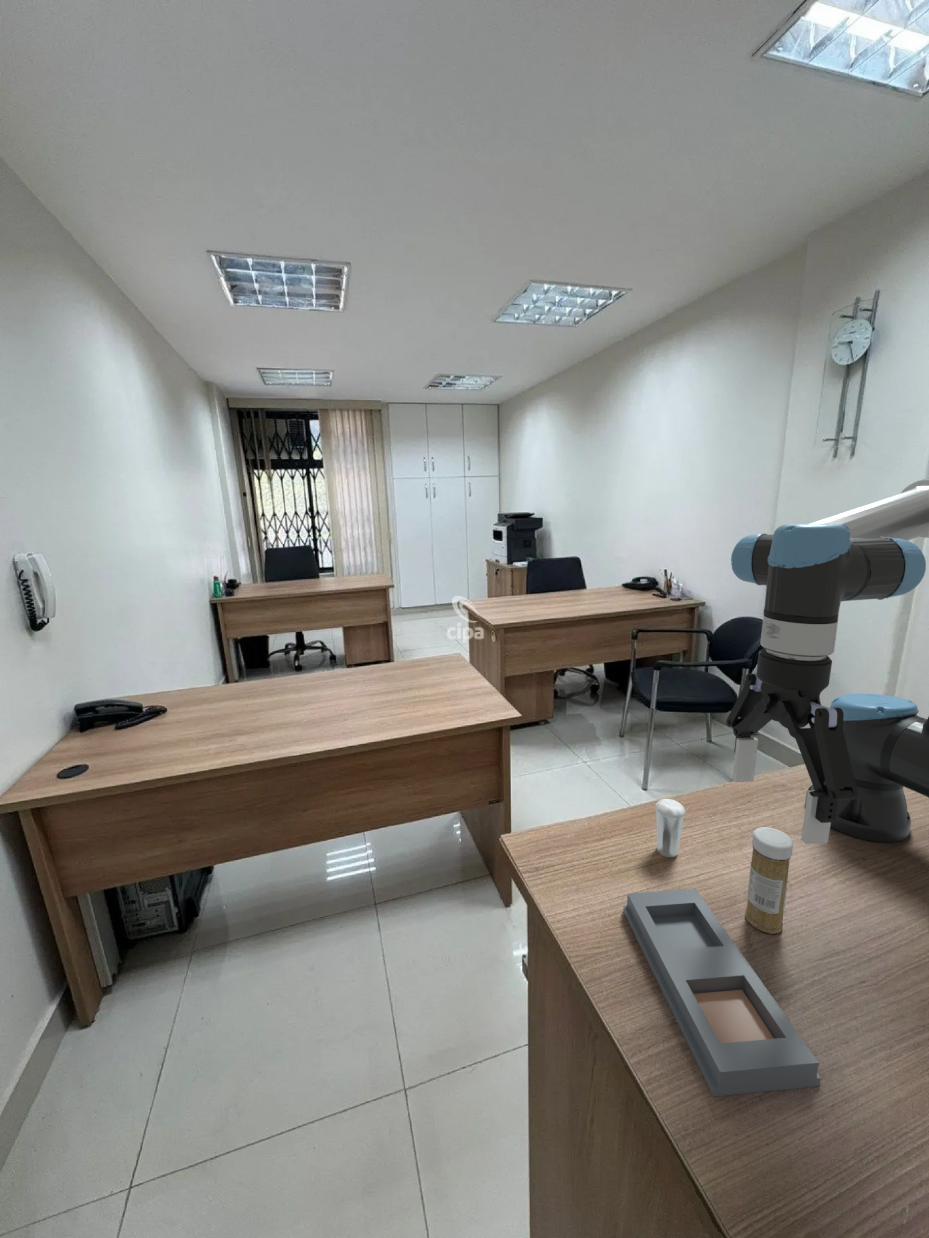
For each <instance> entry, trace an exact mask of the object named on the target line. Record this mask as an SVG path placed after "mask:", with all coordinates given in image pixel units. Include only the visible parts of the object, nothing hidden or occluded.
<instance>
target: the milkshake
mask: <svg viewBox="0 0 929 1238" xmlns="http://www.w3.org/2000/svg"><path fill="white" fill-rule="evenodd" d="M691 805H692V803H689V805H688V807H687V808H686V809H685V807H684V805H682V804H681V803H680V802H678V801H676V800H675V799H670V798H662V799H659V800H658V801H657V802H656V803H655V808H654V809H655V821H656V822H655V824H656V849H657V853H658V854H660V855H661V856H663V857H666V858H668V859H669V858H675V857H677V856H678V855H679V850H680V842H681V837H682V831H683V825H684V821H685V820H684V819H685V816H686V812H687V811H688V809H689V808H690V806H691Z"/></svg>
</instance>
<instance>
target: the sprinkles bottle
mask: <svg viewBox="0 0 929 1238" xmlns="http://www.w3.org/2000/svg"><path fill="white" fill-rule="evenodd" d="M751 845H752V855H751V862H750V869H749V870H750V871H749V879H748V886H747V887H748V889H747V901H746V903H747V904H746V910H745V913H744V915H745V919H746V921H747V922H748V923H749V924H750V925H751V927H754V928H755V929H756V930H759V931H760V932H763V933H767V934H772V935H773V934H778V933H781V931H782V930H783V926H784V923H783V921H784V911H785V908H786V901H787V892H788V890H787V889H788V888H787V886H788V879H789V878H788V877H789V870H790V869H789V868H790V860H791V857H792V856H793V852H794V851H793V848H794V842H793V839H791V837H790V836H789V835H788V834H786V833H785V832H783V831H782V830H779V829H776V828H773V827H769V826H768V827H767V826H766V827H765V826H760V827H758V828H755V829H754V830H753V834H752V839H751Z"/></svg>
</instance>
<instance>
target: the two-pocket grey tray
mask: <svg viewBox="0 0 929 1238" xmlns="http://www.w3.org/2000/svg"><path fill="white" fill-rule="evenodd" d="M622 908H623V914H624V916H625V919H626V921H627V922H628V924H629V926H630V928H631V930H632V932H633V934H634V937H635V939H636V940H637V943H638V945H639V947H640V949H641V952H642V953H643V955H644V957H645V959H646V962H647V963H648V966H649V967H650V970H651V972H652V974H653V976H654V978H655V980H656V982H657V984H658V986H659V989H660V991H661V992H662V994H663V997H664V999H665V1001H666V1003H667V1005H668V1007H669V1009H670V1011H671V1014H672V1015H673V1017H674V1020H675V1022H676V1023H677V1026H678V1028H679V1029H680V1032H681V1034H682V1036H683V1038H684V1040H685V1042H686V1045H687V1047H688V1049H689V1050H690V1053H691V1054H692V1057H693V1059H694V1061H695V1062H696V1065H697V1067H698V1069H699V1071H700V1072H701V1074H702V1077H703V1080H704V1081H705V1083H706V1085H707V1087H708V1090H709V1092H710V1094H711V1096H712V1097H713V1098H714V1097H725V1096H733V1095H734V1096H735V1095H745V1094H753V1093H764V1092H765V1093H766V1092H773V1091H783V1090H793V1089H804V1088H814V1087H820V1086H821V1082H822V1077H821V1076H820V1074H819V1073H818V1070H819V1065H820V1062H819V1061H818V1059H817V1058H816V1057H815V1055H814V1053H813V1052H812V1051H811V1050H810V1048H809V1047H808V1045H807V1044H806V1043H805V1041H804V1039H803V1038H802V1036H801V1035H800V1034H799V1033H798V1031H797V1029H796V1028H795V1027H794V1025H793V1023H791V1021H790V1020H789V1018H788V1017H787V1016H786V1014H785V1013H784V1012H783V1010H782V1008H781V1007H780V1006H779V1004H778V1002H777V1001H776V1000H775V999H774V997H773V996H772V994H771V993H770V991H769V990H768V989H767V987H766V986H765V984H764V983H763V982H762V980H761V979H760V978H759V976H758V975H757V973H756V972H755V971H754V969H753V967H752V966H751V964H750V963H749V962H748V960H747V959H746V957H745V956H744V954H743V953H742V952H741V950H740V949H739V947H738V946H737V945H736V943H735V942H734V941H733V939H732V938H731V936H730V935H729V934H728V932H727V930H726V929H725V927H724V926H723V925H722V924H721V922H720V921H719V919H718V918H717V916H716V915H715V914H714V912H713V911H712V910H711V908H710V907H709V905H708V904H707V903H706V901H705V899H704V898H703V897H702V896H701V894H700V893H699V890H698V889H697V888H685V889H683V888H682V889H672V890H670V889H669V890H656V891H641V892H631V893H630V892H629V893H627V897H626V905H623V907H622Z"/></svg>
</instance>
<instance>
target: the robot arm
mask: <svg viewBox="0 0 929 1238" xmlns="http://www.w3.org/2000/svg"><path fill="white" fill-rule="evenodd" d="M920 537H921V538H929V477H926V478H923V479H920V480H917V481H915V482H913V483H911V484H908V486H906V487H905V488H904V489H902V491H901V492H900V493H898V494H894V495H892V496H889V497H885V498H883V499H880V500H877V501H874V502H871V503H868V504H865V505H861V506H859V507H855V508H853V509H849V510H847V511H844V512H840V513H838V514H835V515H832V516H829V517H826V518H823V519H820V520H817V521H813V522H811V523H787V524H781V525H780V526H778V527H777V528H775V530H774V532H773V534H768V533H759V534H750V535H749V534H748V535H746V536H744V537H743V538H741V539H740V540H739V541H737V543H736V544H735V546H734V548H733V550H732V553H731V556H730V557H731V558H730V561H731V563H730V565H731V569H732V572H733V573H734V575H735V577H737V578H738V579H739V580H741V581H743V582H747V583H752V584H755V585H756V586H765V587H766V588H765V596H764V597H765V599H764V607H763V619H762V626H761V635H760V642H759V643H760V644H759V645H761V646H762V647H763V648H762V649H761V650H759V651H758V656H757V657H758V658H757V666H756V672H755V673H747V674H746V675H745V679H744V683H743V688H742V690H741V692H740V693H739V696H738V698H737V699H736V701H735V703H734V705H733V707H732V708H731V711H730V713H729V715H728V716H727V718H726V720H725V721H726V722H725V723H726V725H727V726H728V727H729V728H732V729H733V735H734V736H735V742H734V749H733V750H734V752H733V753H734V758H733V759H734V761H733V768H732V769H733V771H732V781H733V782H734V783H747V782H748V783H749V782H754V781H755V771H756V770H755V769H756V763H757V762H756V761H757V754H758V746H759V739H758V738H757V737H753V736H759V734H758V732H759V731H761V729H763V728H764V727H765V726H766V725H768V724H769V722H770V721H773V722H778V723H779V724H780V725H781V726H782V727H784V728H786V729H787V731H788V733H789V735H790V737H792V738H794V739H795V741H796V744H797V747H798V749H799V752H800V755H801V757H802V761H803V762H804V765H805V768H806V770H807V771H806V772H807V774H808V776H809V779H810V781H811V785H810V786H809V787H808V789H807V790H806V794H805V800H804V801H805V802H804V803H805V804H804V805H805V810H804V817H803V824H802V832H801V838H800V841H802V842H803V843H804V844H805V845H811V844H813V845H814V844H827V843H829V836H830V831H831V829H833V830H835V831H838V832H840V833H842V834H844V835H848V836H851V837H854V838H858V839H861V840H865V841H871V842H872V841H873V842H877V843H878V842H879V843H896V842H900V841H903V840H905V839H907V838H908V837H909V835H910V831H911V826H912V820H911V815H910V813H909V811H908V805H907V799H906V796H905V792H904V788H906V789H907V790H908V789H909V790H910V791H913V792H915V793H917V794H920V795H923V796H924V797H926V798H929V716H928V717H927V718H924V717H922V716H919V715H918V713H919V709H918V705H917V704H916V703H915V702H913V701H911V700H910V699H906V698H903V697H898V696H893V695H886V694H878V693H860V692H859V693H848V694H842V695H838V696H836V697H835V698H834V699H833V700H832V701H831V703H830V707H828V706H825V705H822V704H821V699H820V698H821V697H820V696H821V694H822V692H823V691H824V690H825V689H827V688H828V687H829V684H830V678H831V673H832V665H833V660H832V659H831V657H829V656H831V655H832V654H834V653H835V646H836V639H837V630H838V624H839V623H838V622H839V614H840V613H839V612H840V608H841V604H842V603H841V602H849V601H864V600H865V601H866V600H885V599H890V598H893V597H899V596H903V595H906V594H907V593H909V592H911V591H913V590H914V589H916V588H917V587H918V585H919V584H920V583H921V582H922V580H923V578H924V576H925V574H926V571H927V566H926V565H927V563H926V561H927V560H926V558H925V555H924V552H922V550H921V548H919V547H918V546H917V545H916V544H915V543H913V542H912V541H911V540H914V539H916V538H920ZM808 725H809V727H806V726H808ZM751 736H752V737H751Z"/></svg>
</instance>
